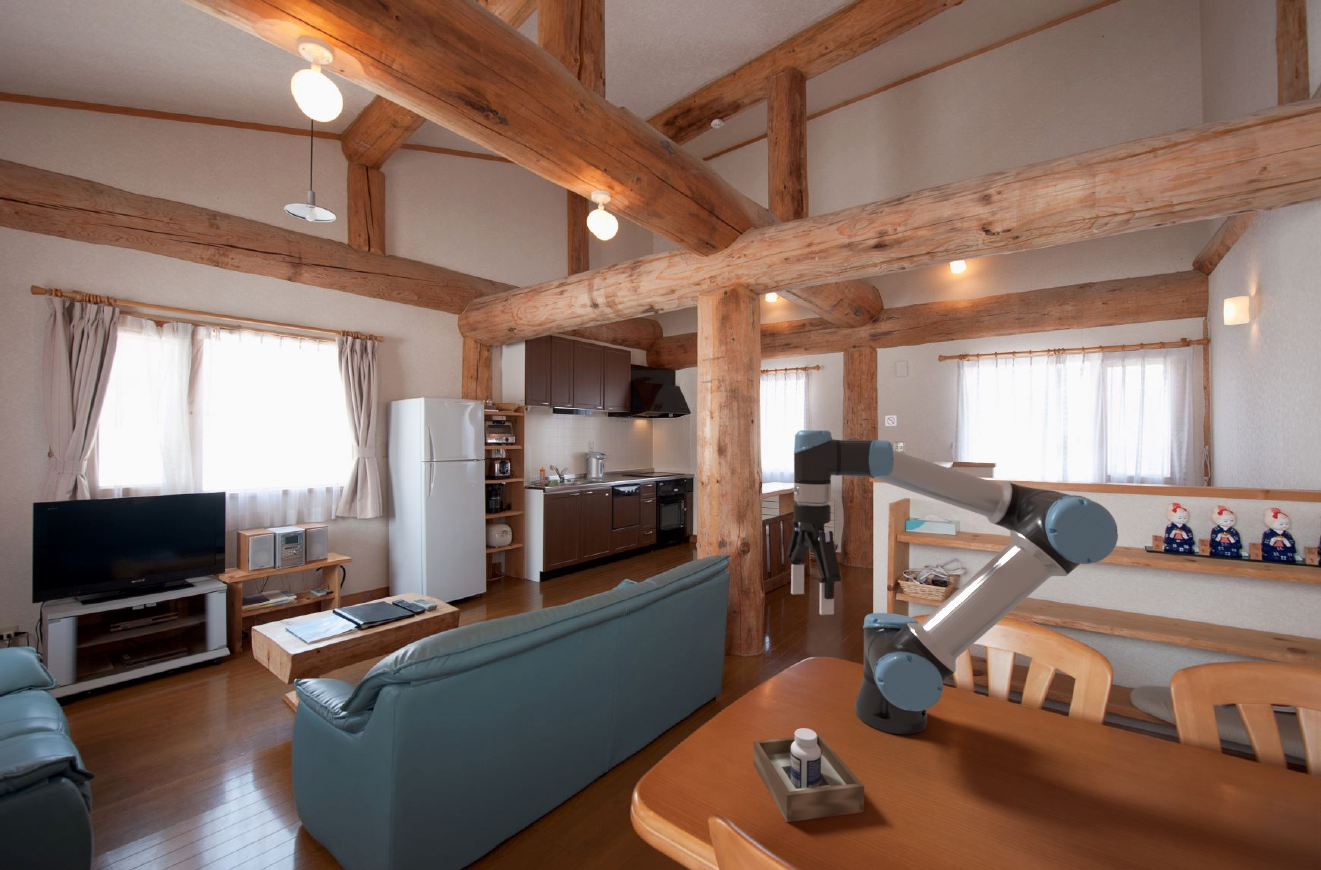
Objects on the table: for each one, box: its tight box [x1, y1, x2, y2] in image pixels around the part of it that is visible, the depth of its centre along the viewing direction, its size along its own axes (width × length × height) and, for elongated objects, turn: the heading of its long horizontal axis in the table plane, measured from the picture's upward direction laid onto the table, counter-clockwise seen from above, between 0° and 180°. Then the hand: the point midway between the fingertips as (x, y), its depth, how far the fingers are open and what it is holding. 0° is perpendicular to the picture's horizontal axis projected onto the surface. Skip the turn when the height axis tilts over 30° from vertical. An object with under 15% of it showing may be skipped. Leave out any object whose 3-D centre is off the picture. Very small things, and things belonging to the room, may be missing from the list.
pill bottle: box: [790, 727, 822, 789], centre depth 100 cm, size 5×5×10 cm
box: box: [752, 734, 865, 823], centre depth 100 cm, size 14×16×4 cm
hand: (811, 603), depth 115 cm, fingers open, 13 cm apart
